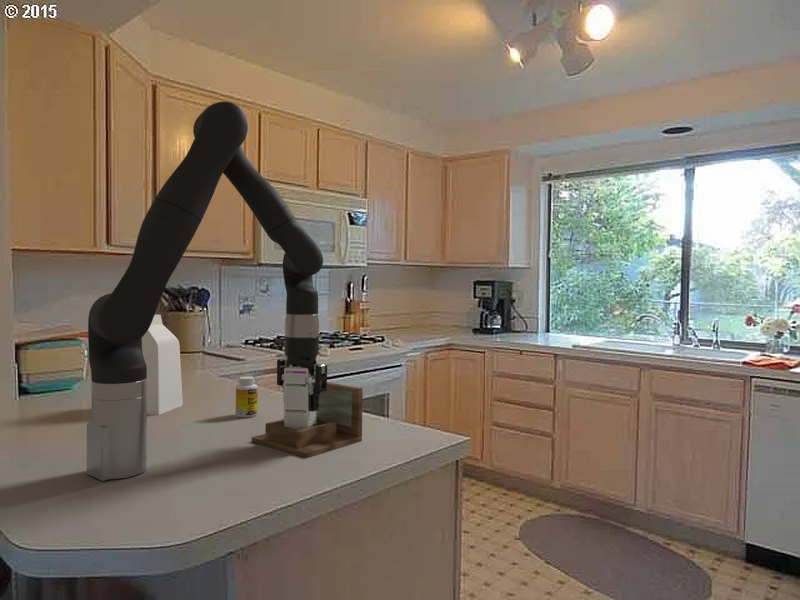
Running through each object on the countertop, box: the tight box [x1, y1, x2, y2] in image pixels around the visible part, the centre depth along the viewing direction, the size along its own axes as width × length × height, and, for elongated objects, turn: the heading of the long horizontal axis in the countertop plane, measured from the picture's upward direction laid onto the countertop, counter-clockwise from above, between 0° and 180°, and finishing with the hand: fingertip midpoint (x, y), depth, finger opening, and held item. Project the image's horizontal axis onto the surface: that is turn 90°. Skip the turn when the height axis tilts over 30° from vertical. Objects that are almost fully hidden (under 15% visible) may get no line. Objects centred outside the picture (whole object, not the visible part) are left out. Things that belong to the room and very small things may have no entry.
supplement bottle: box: [235, 375, 258, 419], centre depth 152 cm, size 6×6×10 cm
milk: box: [142, 314, 184, 416], centre depth 158 cm, size 12×12×26 cm
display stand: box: [251, 381, 364, 459], centre depth 129 cm, size 17×18×12 cm
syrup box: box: [283, 366, 317, 430], centre depth 127 cm, size 6×6×14 cm
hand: (300, 408), depth 127 cm, fingers closed on syrup box, 7 cm apart
